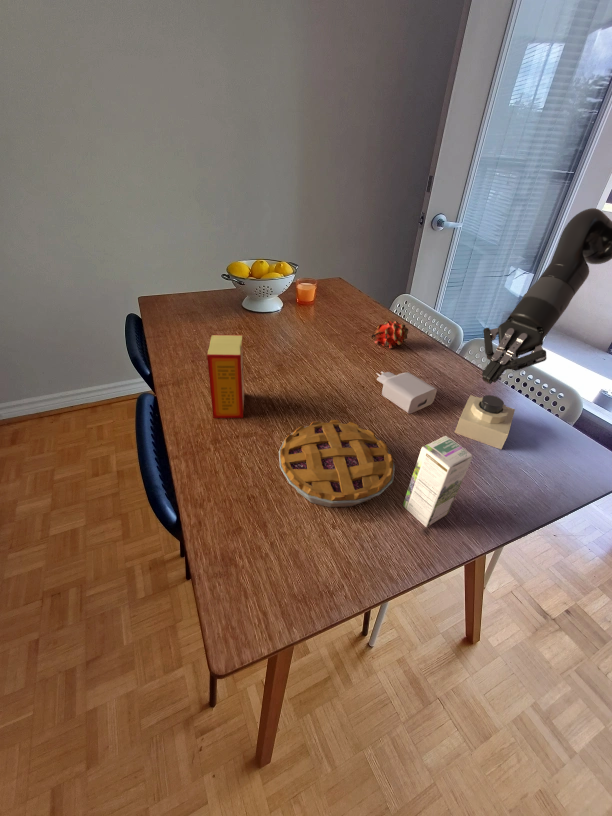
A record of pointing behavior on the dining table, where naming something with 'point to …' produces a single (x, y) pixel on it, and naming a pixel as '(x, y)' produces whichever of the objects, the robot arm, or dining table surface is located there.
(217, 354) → the baking soda box
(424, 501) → the syrup box
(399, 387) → the charger
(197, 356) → the dining table surface
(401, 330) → the dragon fruit
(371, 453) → the pie
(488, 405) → the lid button
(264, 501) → the dining table surface
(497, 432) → the beige faceted block
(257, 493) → the dining table surface
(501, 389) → the dining table surface
